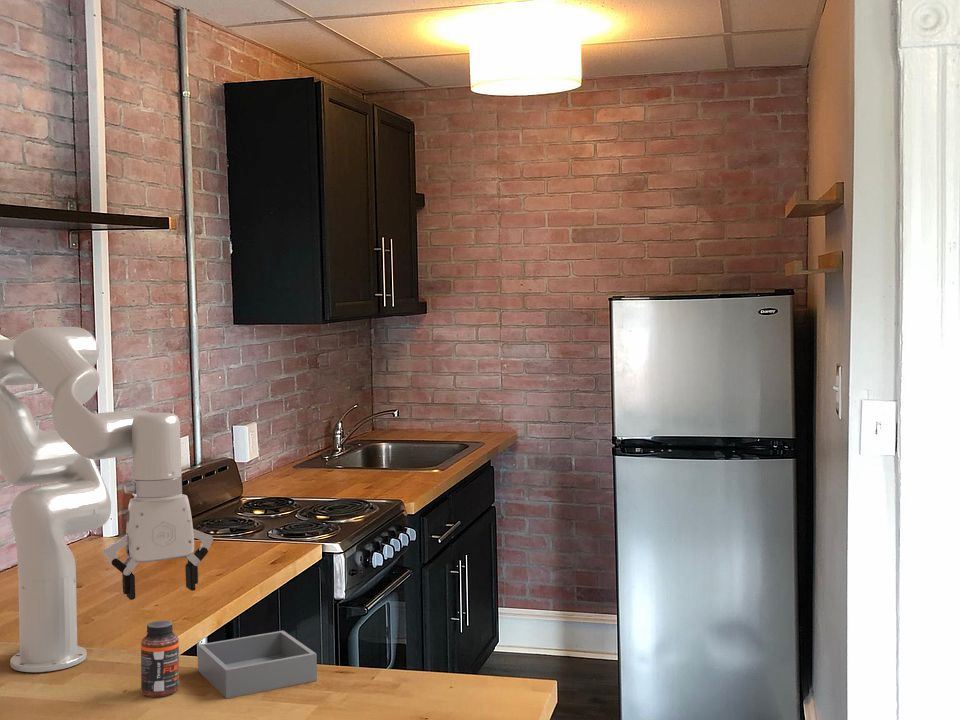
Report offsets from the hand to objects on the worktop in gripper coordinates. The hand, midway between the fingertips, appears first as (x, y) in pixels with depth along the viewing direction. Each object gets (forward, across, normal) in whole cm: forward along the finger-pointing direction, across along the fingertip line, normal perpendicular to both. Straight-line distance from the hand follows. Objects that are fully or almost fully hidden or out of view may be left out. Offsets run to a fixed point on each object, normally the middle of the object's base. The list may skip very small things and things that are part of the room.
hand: (161, 593), depth 168 cm
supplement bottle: (+17, 0, +1) cm, 17 cm away
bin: (+16, +16, 0) cm, 23 cm away
